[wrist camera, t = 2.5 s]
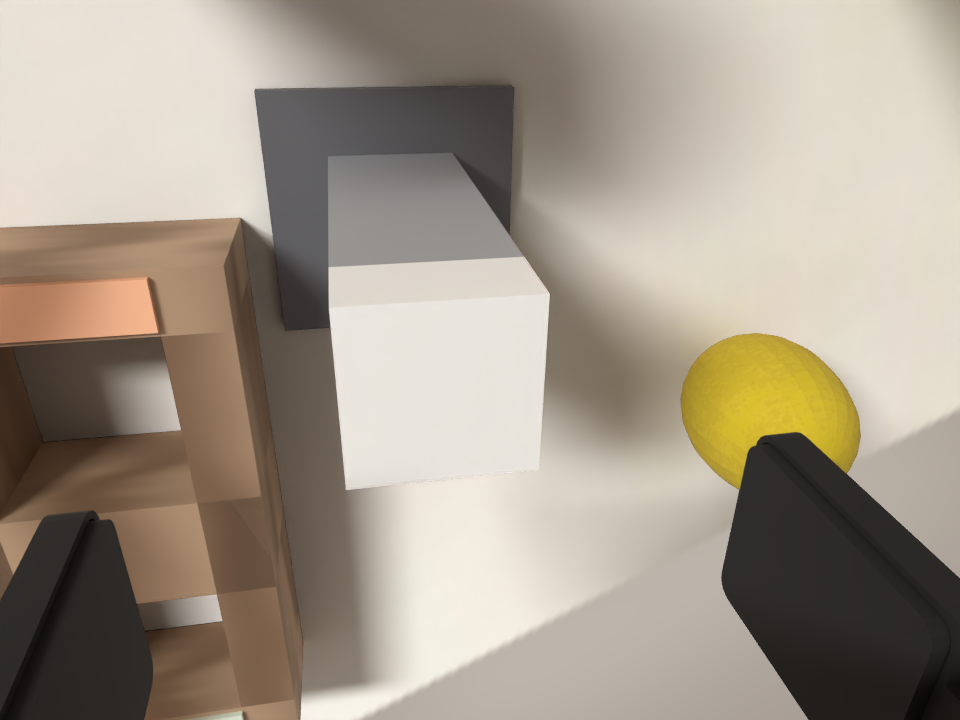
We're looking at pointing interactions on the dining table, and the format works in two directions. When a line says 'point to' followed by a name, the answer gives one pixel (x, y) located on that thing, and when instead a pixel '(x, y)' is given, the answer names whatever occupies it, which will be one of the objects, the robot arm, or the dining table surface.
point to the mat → (366, 131)
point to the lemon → (765, 402)
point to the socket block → (162, 451)
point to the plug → (430, 325)
